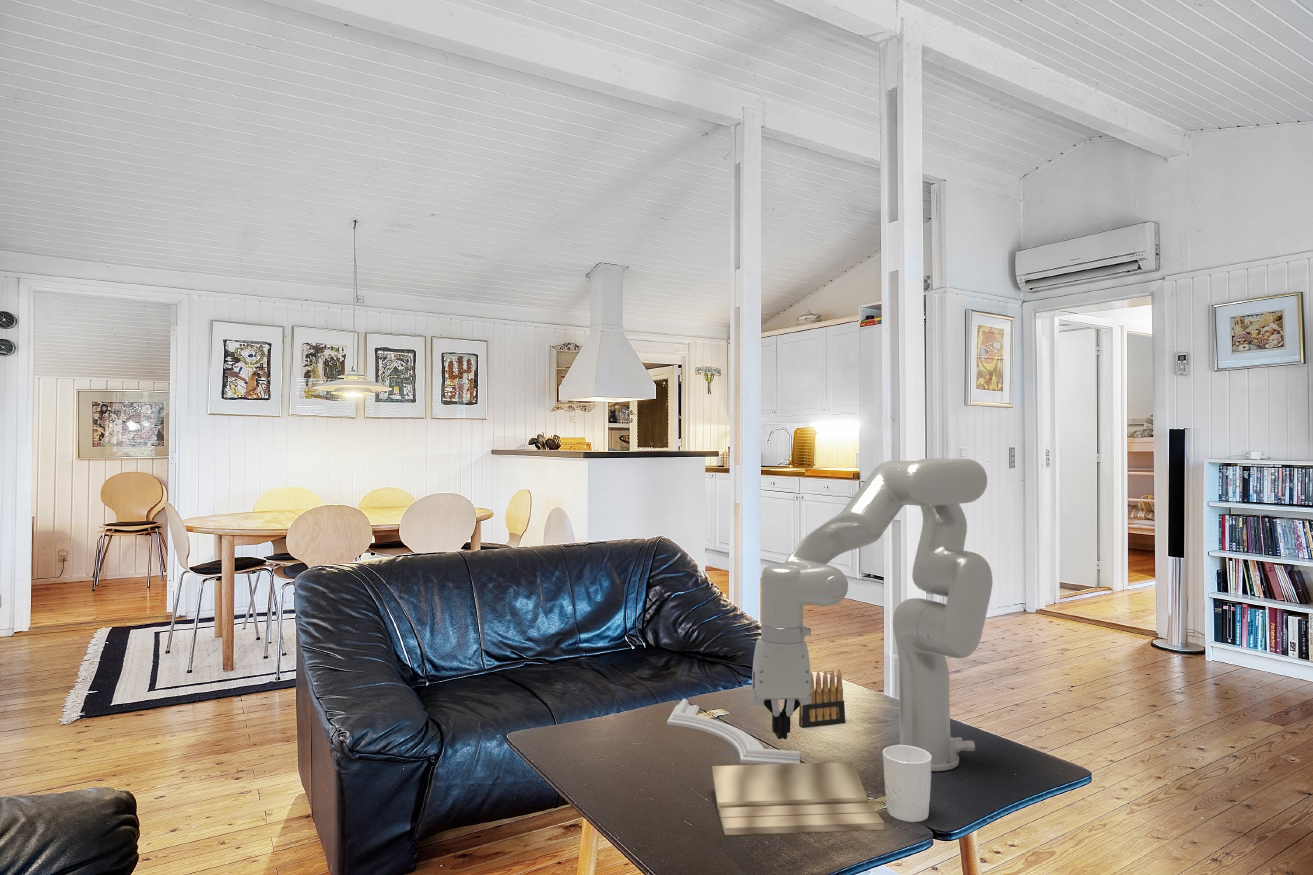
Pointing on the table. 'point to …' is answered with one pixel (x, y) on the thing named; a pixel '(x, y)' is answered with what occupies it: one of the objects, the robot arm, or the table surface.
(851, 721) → the table surface
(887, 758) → the white cup
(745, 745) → the molding
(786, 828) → the laid board
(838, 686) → the ammunition clip
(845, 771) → the plank
